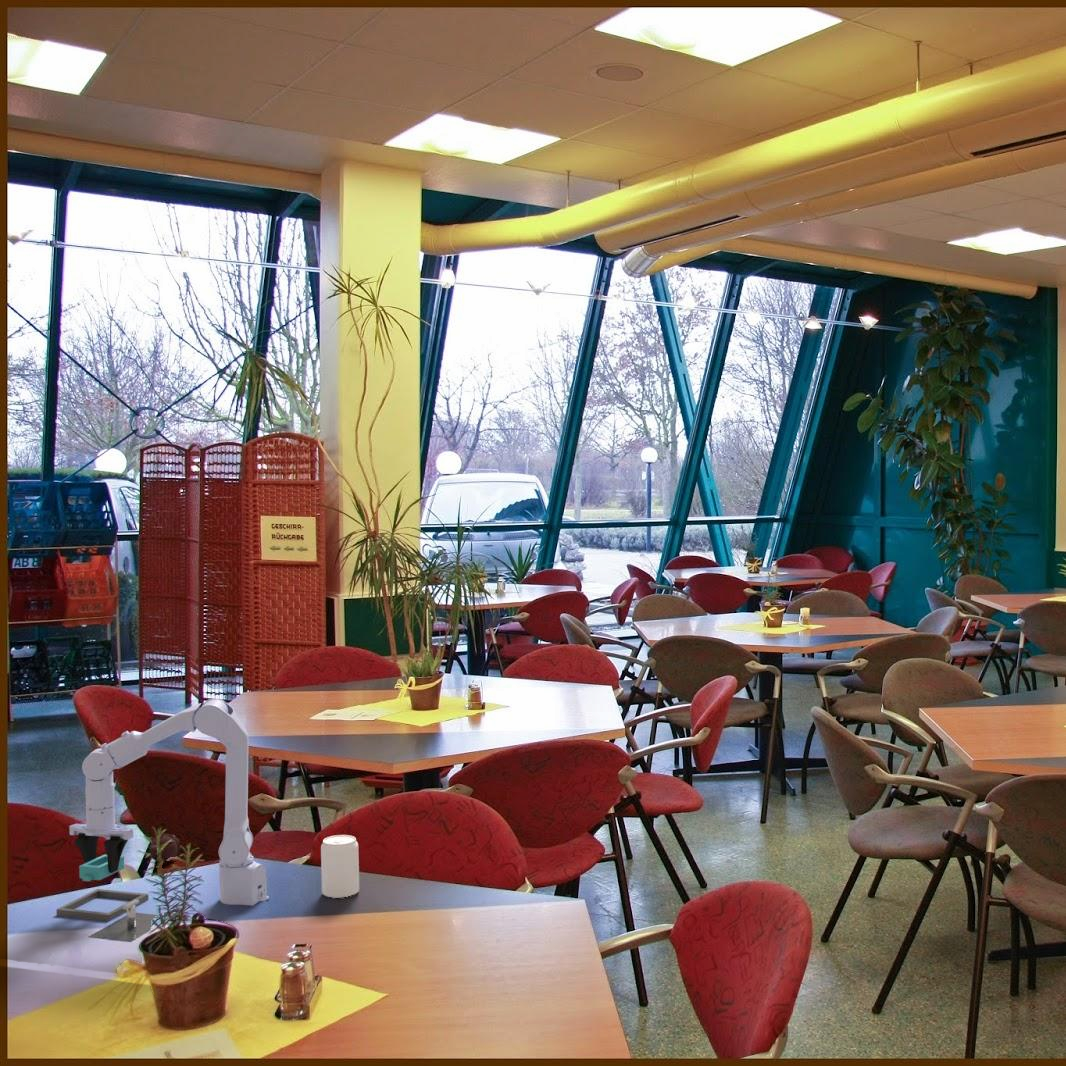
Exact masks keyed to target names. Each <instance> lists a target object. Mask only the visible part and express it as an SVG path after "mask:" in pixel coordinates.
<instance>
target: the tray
mask: <svg viewBox="0 0 1066 1066" xmlns="http://www.w3.org/2000/svg"><path fill="white" fill-rule="evenodd" d="M98 897H99V898H109V899H110V898H111V899H118V900H128V902H125V903H124V904H122V905H121V906H119V907H117V908H115V909H112V910H111V911H109V912H102V911H94V910H92V911H91V910H83V909H78V908H79V907H81V906H83V905H85V904H87V903H89V902H91V901H92V900H95V899H97V898H98ZM129 900H130V901H129ZM133 900H139V903H138V904H136V905H135V908H136V907H138V906H141V904H144V903H146V902H147V901H149V893H141V892H134V891H133V892H131V891H122V890H121V891H120V890H113V889H112V890H110V889H102V888H97V889H95V890H93V891H91V892H89V893H86V894H85V895H83V896H81V897H78V898H76V899H75V900H72V901H70V902H69V903H67V904H65V905H63V906H60V907H59V908H57V909H56V911H55V912H56V916H58V917H68V918H78V919H86V920H94V921H96V920H97V921H105V922H110V921H112V920H114V919H116V918H118V917H120V916H121V915H123V914H125V913H127V910H126V909H123V906H124V905H126V904H128V903H129V902H131V901H133Z"/></svg>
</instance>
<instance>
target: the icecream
mask: <svg viewBox="0 0 1066 1066" xmlns="http://www.w3.org/2000/svg"><path fill="white" fill-rule="evenodd" d="M163 834H164V835H163V837H162V839H161V844H164V843H165V842H167V841H168V840H169V839H173V840H174V843H171V844H170V845H168V846H167V847H166V848H165V849H164V851H163V855H162V859H163V863H164V864H165V863H166V862H165V861H166V860H167V859H168V858H170V857H174V858H176V857H177V856H178V855H179V852H180V848H181V844H180V839H179V838H177V837H176V835H175V834H170V833H163ZM157 836H158V835H156V836H155V837H154V838H152V840H151V843H150V845H149V847H148V848H149V857H150V858H151V859H153V861H155V863H154V864H155V865H154V866H155V868H156V862H157V846H156V840H157Z"/></svg>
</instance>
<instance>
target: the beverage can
mask: <svg viewBox="0 0 1066 1066" xmlns="http://www.w3.org/2000/svg"><path fill="white" fill-rule="evenodd" d="M359 855H360V854H359V843H358V841H357V838H356V837H355V836H353V835H349V834H336V835H331V836H327V837H325V838H324V839H323V840H322V844H321V845H320V860H321V862H320V863H321V864H320V867H321V869H320V870H321V871H320V872H321V873H320V874H321V894H322V895H323V896H325V897H328V898H329V897H333V898H332V899H335V898H341V897H347V898H349V897H348V896H350V897H352V896H351V895H353V896H354V895H356V894H357V893H358V892H359V891H360V865H359V864H360V862H359V861H360V860H359ZM341 899H342V898H341Z"/></svg>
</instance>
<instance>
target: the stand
mask: <svg viewBox="0 0 1066 1066" xmlns="http://www.w3.org/2000/svg"><path fill="white" fill-rule="evenodd" d="M130 901H131V902H130ZM130 901H128V902H129V903H128V902H127V903H128V904H126V903H125V904H126V905H124V904H123V905H124V906H123V909H126V910H127V912H126V915H125V916H123V917H122V918H119V919H117V920H116V921H114V922H112V923H110V924H108V925H107V926H104V927H103V928H101V929H99V930H97V931H96V932H94V933H92V934H91V935H89V936H87V938H90V939H91V938H93V939H99V940H111V941H119V942H126V943H132V942H133V941H136V940H137V939H139V938H140V937H142V936H144V935H145V934H147V933H149V932H150V931H151V930H150V929H151V927H152V926H151V920H152V919H153V918H158V915H159V914H153V913H152V914H151V913H145V912H144V913H143V912H142V913H141V912H136V907H135V905H136V904H138V903H139V900H133V901H132V900H130ZM155 916H157V917H155Z"/></svg>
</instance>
